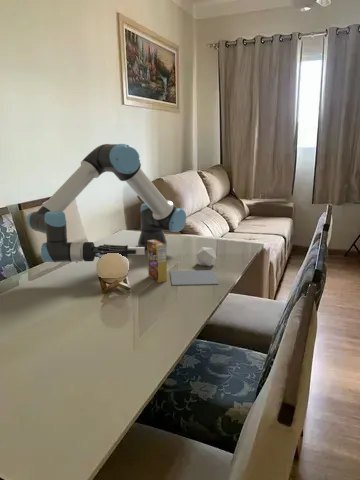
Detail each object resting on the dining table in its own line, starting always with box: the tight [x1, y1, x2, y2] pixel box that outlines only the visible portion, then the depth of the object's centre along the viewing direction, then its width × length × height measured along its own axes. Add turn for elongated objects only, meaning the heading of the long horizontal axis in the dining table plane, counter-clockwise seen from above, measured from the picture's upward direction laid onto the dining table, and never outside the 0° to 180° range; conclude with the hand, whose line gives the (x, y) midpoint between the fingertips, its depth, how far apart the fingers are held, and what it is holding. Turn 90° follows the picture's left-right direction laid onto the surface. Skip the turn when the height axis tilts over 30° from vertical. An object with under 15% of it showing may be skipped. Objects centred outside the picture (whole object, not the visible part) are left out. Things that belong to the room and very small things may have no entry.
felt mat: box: [169, 269, 219, 286], centre depth 156 cm, size 16×18×1 cm
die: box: [195, 246, 217, 267], centre depth 172 cm, size 8×9×10 cm
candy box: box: [147, 239, 168, 283], centre depth 153 cm, size 9×4×15 cm, turn 31°
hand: (144, 250), depth 151 cm, fingers closed
